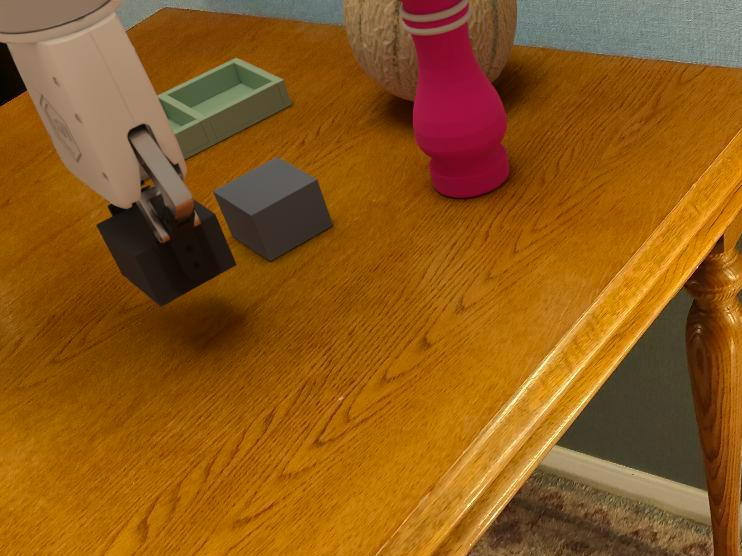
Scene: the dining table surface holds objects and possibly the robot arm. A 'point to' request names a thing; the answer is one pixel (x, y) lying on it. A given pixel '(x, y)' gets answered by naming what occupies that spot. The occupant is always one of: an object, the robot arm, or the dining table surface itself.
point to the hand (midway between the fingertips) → (175, 262)
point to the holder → (221, 104)
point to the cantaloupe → (397, 49)
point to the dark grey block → (140, 257)
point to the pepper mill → (454, 101)
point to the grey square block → (273, 208)
